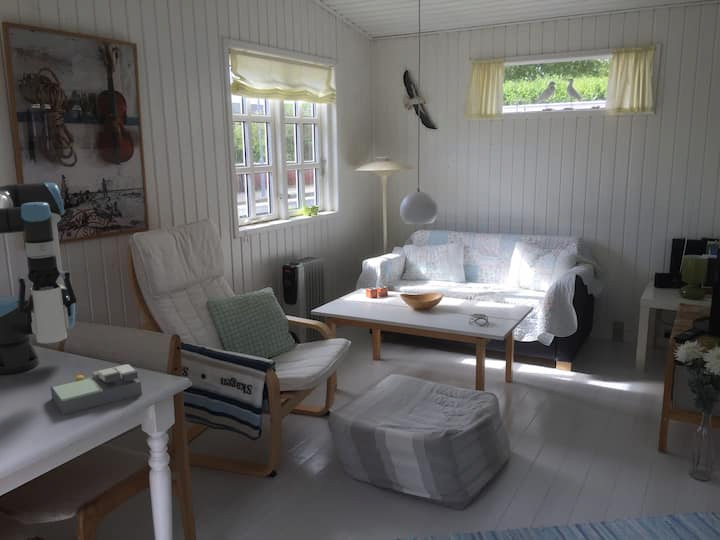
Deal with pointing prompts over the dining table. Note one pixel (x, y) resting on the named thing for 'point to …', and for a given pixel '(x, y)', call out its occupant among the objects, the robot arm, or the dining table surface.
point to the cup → (49, 314)
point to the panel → (95, 390)
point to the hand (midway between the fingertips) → (50, 329)
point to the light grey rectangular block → (109, 375)
